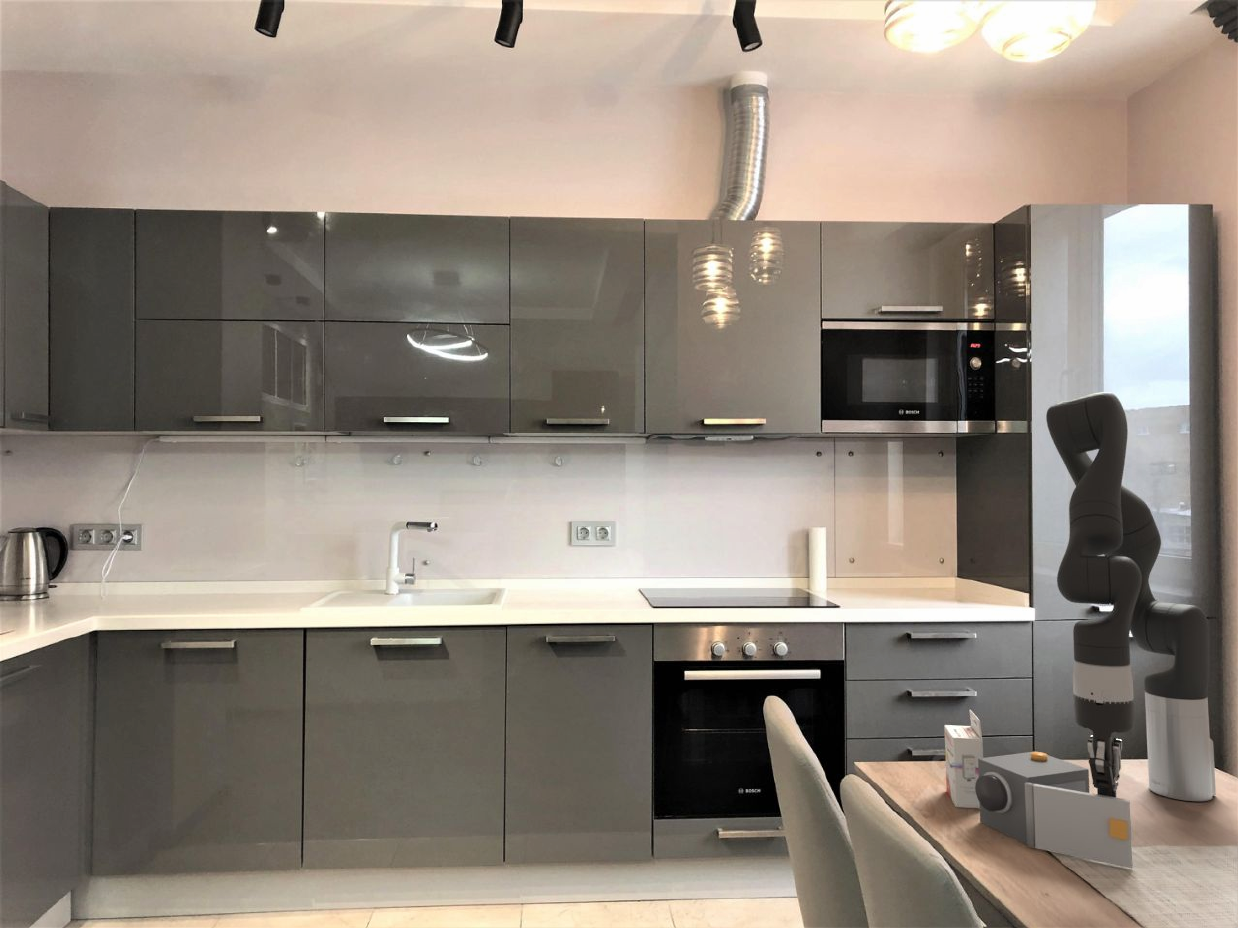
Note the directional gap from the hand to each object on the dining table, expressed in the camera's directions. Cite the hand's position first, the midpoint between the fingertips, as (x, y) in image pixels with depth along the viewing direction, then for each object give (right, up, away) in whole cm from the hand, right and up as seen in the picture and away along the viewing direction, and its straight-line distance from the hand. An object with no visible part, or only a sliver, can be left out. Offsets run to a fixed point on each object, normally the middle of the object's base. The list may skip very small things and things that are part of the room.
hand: (1107, 814), depth 116 cm
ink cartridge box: (-11, -8, +23) cm, 27 cm away
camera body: (-5, -7, +10) cm, 13 cm away
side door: (-5, -6, -1) cm, 7 cm away
